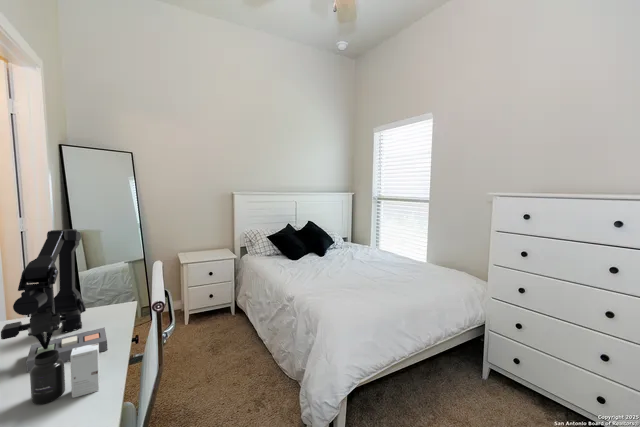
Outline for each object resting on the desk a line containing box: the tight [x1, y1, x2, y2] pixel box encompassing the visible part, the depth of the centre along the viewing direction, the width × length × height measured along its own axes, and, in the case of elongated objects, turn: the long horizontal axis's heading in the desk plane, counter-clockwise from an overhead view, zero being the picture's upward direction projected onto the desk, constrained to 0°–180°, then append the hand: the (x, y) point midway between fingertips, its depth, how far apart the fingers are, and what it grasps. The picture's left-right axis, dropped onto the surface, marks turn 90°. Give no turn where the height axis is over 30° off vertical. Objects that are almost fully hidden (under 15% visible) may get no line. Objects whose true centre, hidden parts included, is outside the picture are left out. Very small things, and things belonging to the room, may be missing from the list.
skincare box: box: [70, 343, 101, 399], centre depth 82 cm, size 6×4×12 cm
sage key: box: [37, 344, 55, 354], centre depth 97 cm, size 4×4×2 cm
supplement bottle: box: [29, 350, 66, 406], centre depth 80 cm, size 7×7×12 cm
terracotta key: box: [85, 333, 99, 342], centre depth 105 cm, size 4×4×2 cm
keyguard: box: [25, 327, 109, 373], centre depth 101 cm, size 12×20×4 cm, turn 129°
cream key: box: [62, 336, 78, 347], centre depth 101 cm, size 4×4×2 cm
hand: (45, 348), depth 97 cm, fingers closed, pressing on sage key
